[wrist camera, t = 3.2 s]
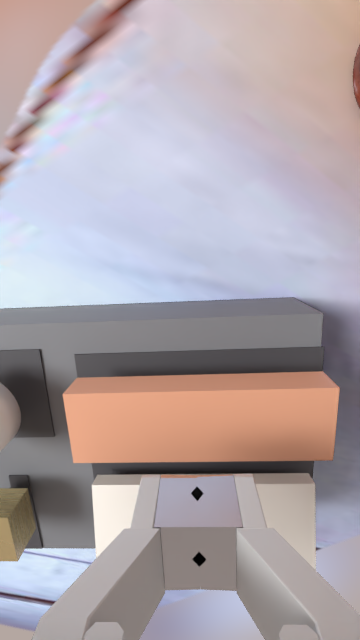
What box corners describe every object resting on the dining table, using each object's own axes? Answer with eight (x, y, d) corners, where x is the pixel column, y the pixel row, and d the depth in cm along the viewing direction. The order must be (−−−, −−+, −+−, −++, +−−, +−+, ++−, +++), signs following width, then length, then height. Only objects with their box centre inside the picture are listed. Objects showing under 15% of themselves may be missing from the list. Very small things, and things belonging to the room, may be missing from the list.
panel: (294, 297, 17) (326, 313, 13) (285, 489, 20) (308, 551, 16) (-17, 309, 18) (-78, 328, 14) (22, 491, 21) (-19, 549, 17)
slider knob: (37, 474, 15) (7, 518, 13) (44, 512, 16) (17, 561, 13) (-9, 474, 15) (-46, 517, 13) (1, 512, 16) (-34, 560, 13)
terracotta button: (322, 371, 12) (339, 387, 10) (317, 437, 13) (332, 460, 11) (76, 377, 12) (62, 394, 11) (86, 440, 13) (73, 463, 12)
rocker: (305, 468, 14) (316, 485, 13) (305, 561, 15) (316, 587, 13) (99, 469, 15) (91, 486, 14) (105, 560, 15) (97, 585, 14)
